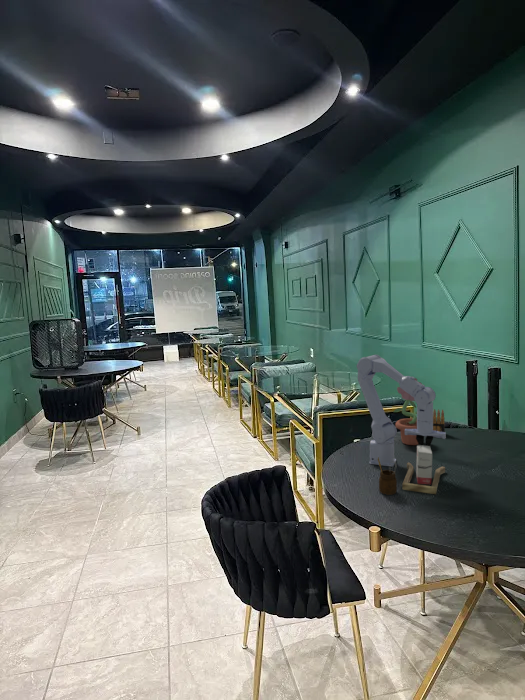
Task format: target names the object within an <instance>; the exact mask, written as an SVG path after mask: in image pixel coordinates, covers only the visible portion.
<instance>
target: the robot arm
mask: <svg viewBox="0 0 525 700" xmlns="http://www.w3.org/2000/svg"><path fill="white" fill-rule="evenodd" d="M356 370H357V382H358V383H359V386H360V390H361V393H362V395H363V397H364V401H365V403H366V405H367V409H368V411H369V413H370V416H371V419H372V422H371V425H370V427H371V428H370V429H371V431H372V438H373V439H371V440H370V443H369V462H368V463H369V465H376V466H379V462H378V457H379V461H380V464H381V466H383V467H384V466H385V467H390V466H391V467H392V468H394V466H395V465H396V462H397V459H396V458H395V437H396V436H397V432H398V428H396V425H394V423H393V422H392V420H391V418H390V417H388V416H387V415H386V412H385V410H384V407H383V405H382V403H381V400H380V396H379V394H378V392H377V389H376V386H375V383H374V381H373V379H374V377H375V375H376V373H383V375H386V376H387V377H389V378H390V379H392V380H394V381H395V382H396V383H397V384H398V385H399V387H400V388H401V389H403V390H404V391H405V392H407V393H408V394H410V395H411V396H412V397H414V399H415V401H414V403H415V404H416V412H417V414H416V417H417V429H405V435H416V440H417V442H418V445H425V446H430V447H431V445H432V442H433V440H434V438H439V439H443V440H446V438H447V437H446V435H447V433H446V431H445V432H439V431H434V430H433V412H434V401H435V400H436V396H437V395H436V392H435V390H434V389H433V388H432V387H431V386H425V384H423V383H422V384H420V383H421V382H420V383H419V381H418V380H417V381H418V382H417V381H416V380H414V379H415V378H416V377H414V376H413V375H412V376H410V375H404V374H403V373H401V372H400V371H398V370H397V368H395V367H393V366H392V365H391V364H390V363H388V362H387V361H386V359H385V358H383V357H382V356H380V355H379V354H373V355H368V356H363V357H360V359H359V360H358V361H357V364H356ZM394 462H395V463H394ZM391 467H390V468H391Z"/></svg>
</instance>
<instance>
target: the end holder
mask: <svg viewBox="0 0 525 700" xmlns="http://www.w3.org/2000/svg"><path fill="white" fill-rule="evenodd" d="M406 469H407V471H406V474H405V477H404V479H403V482H402V490H403V491H410V492H416V493H417V492H418V493H423V494H432V495H437V492H438V486H439V483H440V478H441V475H442V474H445V473H446V467H445V466H443V465H442V466H440V467H438V468H436V469H435V472H434V476H433V478H432V482H431V486H430V485H427V484H418V483H410V482H411V480H412V477H413V476H414V472H415V469H414V466H413V464H412V463H411V462H407V463H406Z"/></svg>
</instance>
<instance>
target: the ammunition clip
mask: <svg viewBox="0 0 525 700" xmlns="http://www.w3.org/2000/svg"><path fill="white" fill-rule="evenodd" d="M433 430H434V431H439V432H446V430H445V412H444V409H441V412H440V409H438V410H437V411H436V409H434V408H433Z"/></svg>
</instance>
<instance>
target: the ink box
mask: <svg viewBox="0 0 525 700" xmlns="http://www.w3.org/2000/svg"><path fill="white" fill-rule="evenodd" d="M415 462H416V464H415V468H416V469H415V475H416V476H415V477H416V481H417V482H416V483H417V484H418V485H428V486H430V485H431V486H432V482H433V477H432V476H433V475H432V473H433V451H432V449H431V445H430V446H426V444H424V445H419V444H418V445H416V461H415Z"/></svg>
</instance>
